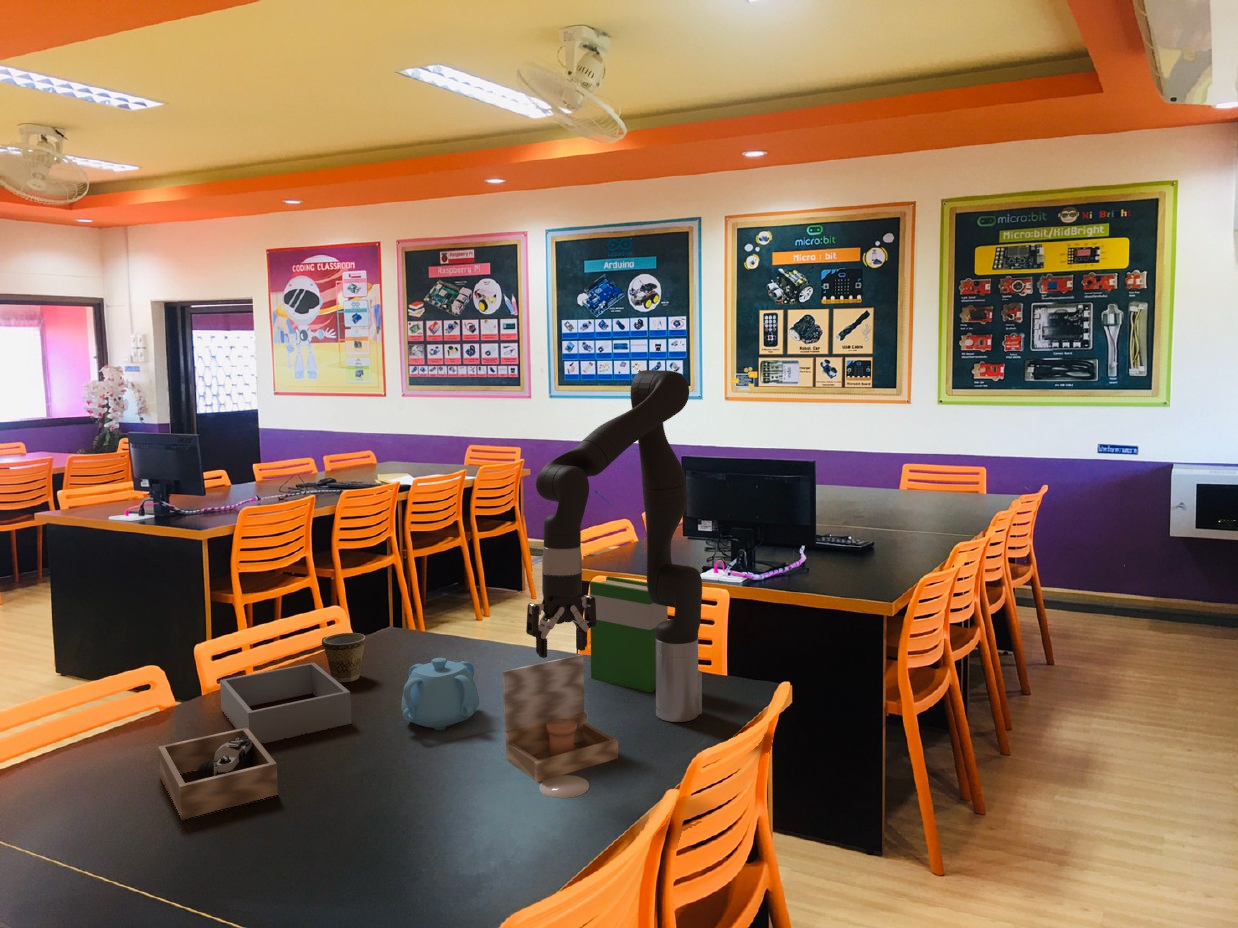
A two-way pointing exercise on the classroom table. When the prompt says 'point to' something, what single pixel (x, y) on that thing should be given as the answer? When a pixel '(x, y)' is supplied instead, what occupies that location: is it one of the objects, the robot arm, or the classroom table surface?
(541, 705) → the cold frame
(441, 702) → the decorative pot
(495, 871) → the classroom table surface
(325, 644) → the ceramic cup
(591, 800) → the classroom table surface
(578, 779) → the saucer
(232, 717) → the tray
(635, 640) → the hardback book
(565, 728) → the pot
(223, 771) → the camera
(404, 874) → the classroom table surface
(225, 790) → the camera cubby
